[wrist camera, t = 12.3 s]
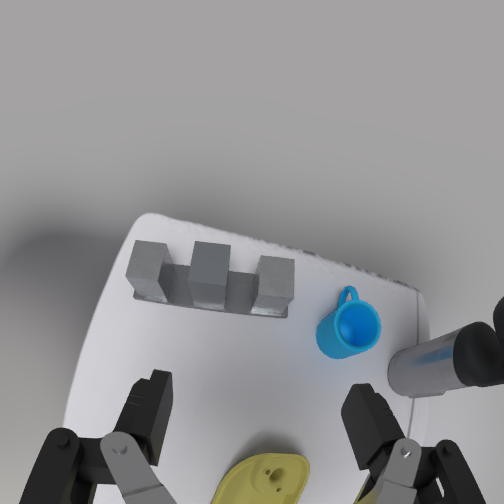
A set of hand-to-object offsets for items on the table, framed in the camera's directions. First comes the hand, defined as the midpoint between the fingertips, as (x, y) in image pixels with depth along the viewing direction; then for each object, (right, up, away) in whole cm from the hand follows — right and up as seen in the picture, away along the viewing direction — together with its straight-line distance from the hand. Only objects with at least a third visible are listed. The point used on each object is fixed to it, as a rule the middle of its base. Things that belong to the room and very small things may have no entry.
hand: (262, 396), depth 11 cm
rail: (-7, 0, +36) cm, 37 cm away
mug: (+15, -7, +36) cm, 39 cm away
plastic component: (0, -33, +20) cm, 38 cm away
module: (-7, 0, +35) cm, 36 cm away
